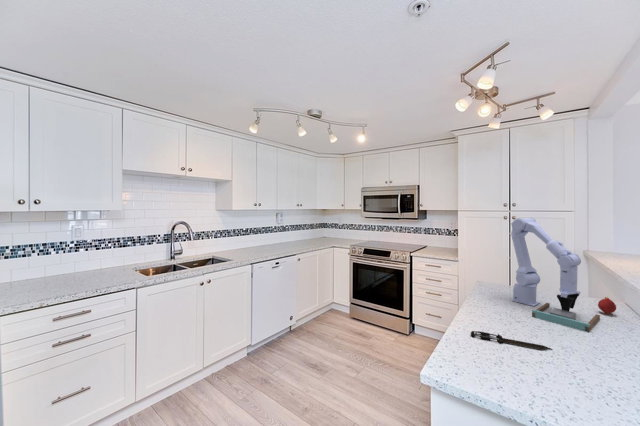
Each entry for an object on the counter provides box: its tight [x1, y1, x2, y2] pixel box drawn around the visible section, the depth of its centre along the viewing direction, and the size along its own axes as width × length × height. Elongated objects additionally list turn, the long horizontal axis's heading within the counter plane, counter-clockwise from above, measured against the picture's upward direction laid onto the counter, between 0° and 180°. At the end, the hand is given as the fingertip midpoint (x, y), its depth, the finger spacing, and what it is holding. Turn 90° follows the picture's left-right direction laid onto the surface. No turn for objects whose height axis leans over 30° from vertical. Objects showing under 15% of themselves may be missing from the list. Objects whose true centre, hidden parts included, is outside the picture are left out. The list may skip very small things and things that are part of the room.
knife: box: [470, 330, 553, 351], centre depth 101 cm, size 25×6×1 cm, turn 57°
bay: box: [531, 302, 601, 333], centre depth 122 cm, size 19×20×3 cm
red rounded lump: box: [597, 296, 617, 315], centre depth 126 cm, size 6×6×8 cm
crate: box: [549, 307, 577, 321], centre depth 119 cm, size 7×8×4 cm
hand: (567, 309), depth 124 cm, fingers open, 7 cm apart
